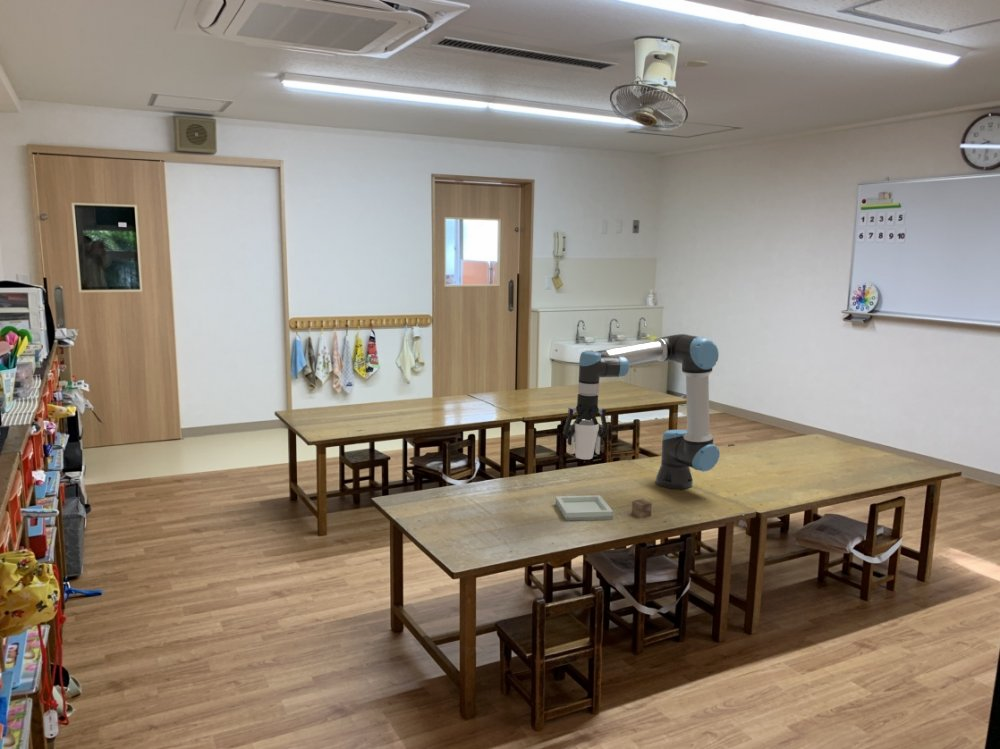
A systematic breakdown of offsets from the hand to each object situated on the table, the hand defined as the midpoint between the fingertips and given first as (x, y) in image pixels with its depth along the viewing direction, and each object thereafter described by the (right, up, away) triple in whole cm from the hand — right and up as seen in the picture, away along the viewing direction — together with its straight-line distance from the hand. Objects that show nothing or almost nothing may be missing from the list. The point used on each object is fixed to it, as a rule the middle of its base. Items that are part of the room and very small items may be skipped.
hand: (584, 453), depth 275 cm
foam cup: (0, -2, 0) cm, 2 cm away
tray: (0, -22, +4) cm, 23 cm away
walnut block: (+22, -23, +2) cm, 32 cm away
